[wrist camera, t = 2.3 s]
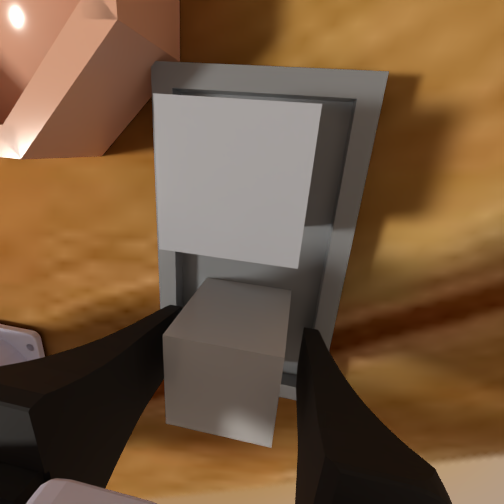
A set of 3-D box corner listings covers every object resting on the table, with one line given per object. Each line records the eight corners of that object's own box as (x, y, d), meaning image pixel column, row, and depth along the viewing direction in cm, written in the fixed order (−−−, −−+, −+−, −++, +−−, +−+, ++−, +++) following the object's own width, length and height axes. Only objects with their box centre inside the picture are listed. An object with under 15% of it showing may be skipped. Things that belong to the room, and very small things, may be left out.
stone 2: (300, 226, 12) (297, 268, 8) (208, 215, 12) (159, 249, 8) (315, 121, 10) (322, 103, 6) (211, 114, 11) (153, 93, 7)
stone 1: (281, 360, 14) (271, 447, 10) (205, 346, 15) (166, 423, 11) (291, 290, 13) (284, 357, 9) (206, 277, 13) (162, 335, 9)
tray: (316, 382, 15) (317, 404, 14) (174, 355, 16) (162, 372, 15) (378, 81, 10) (388, 71, 9) (168, 70, 11) (150, 60, 10)
